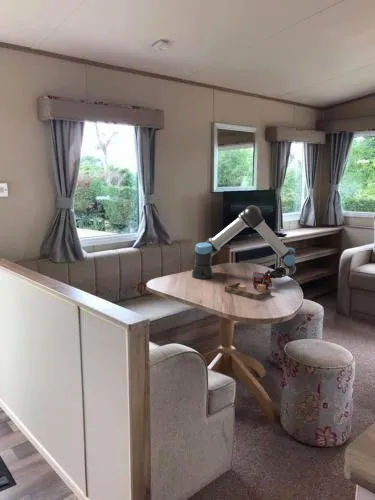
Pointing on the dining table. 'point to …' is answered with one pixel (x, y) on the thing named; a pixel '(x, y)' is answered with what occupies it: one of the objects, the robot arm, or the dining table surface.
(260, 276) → the toy fire truck
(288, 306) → the dining table surface
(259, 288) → the tan cube
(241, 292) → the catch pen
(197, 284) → the dining table surface
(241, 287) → the light brown cube
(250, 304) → the dining table surface
